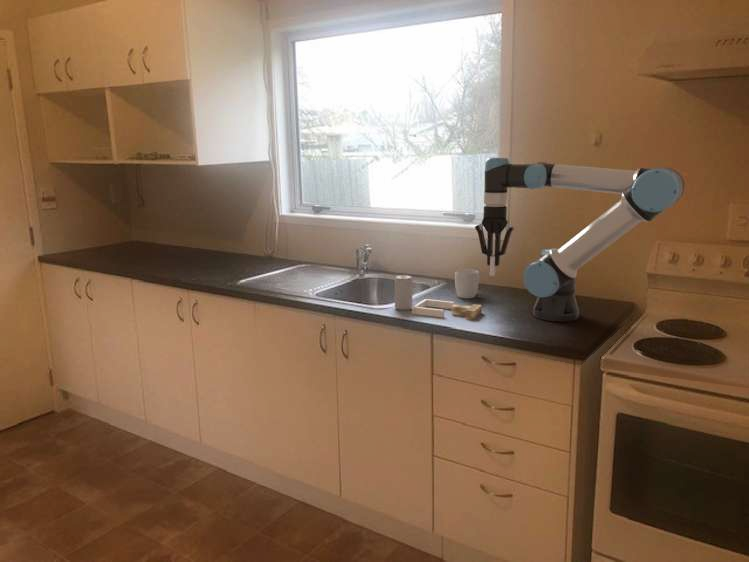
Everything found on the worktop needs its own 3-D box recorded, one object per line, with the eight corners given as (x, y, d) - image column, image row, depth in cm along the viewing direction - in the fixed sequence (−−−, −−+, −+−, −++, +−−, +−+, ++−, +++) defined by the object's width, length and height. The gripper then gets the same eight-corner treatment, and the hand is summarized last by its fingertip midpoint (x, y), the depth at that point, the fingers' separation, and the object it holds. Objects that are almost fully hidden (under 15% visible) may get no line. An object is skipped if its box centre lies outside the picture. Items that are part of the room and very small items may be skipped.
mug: (470, 300, 236) (471, 275, 234) (450, 297, 242) (450, 272, 239) (486, 294, 246) (487, 269, 244) (467, 291, 251) (467, 266, 249)
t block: (481, 313, 219) (481, 305, 218) (474, 319, 211) (474, 311, 211) (457, 310, 223) (457, 302, 222) (448, 316, 215) (449, 308, 214)
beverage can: (411, 306, 229) (411, 274, 226) (413, 311, 223) (413, 278, 220) (394, 306, 229) (394, 275, 226) (395, 311, 223) (395, 278, 220)
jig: (454, 308, 225) (454, 302, 225) (443, 317, 214) (443, 310, 214) (424, 305, 230) (425, 299, 229) (412, 314, 219) (412, 307, 218)
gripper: (517, 204, 205) (514, 274, 210) (479, 203, 211) (477, 271, 216) (512, 207, 198) (509, 278, 204) (472, 205, 204) (470, 275, 209)
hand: (492, 274), depth 210 cm, fingers closed
